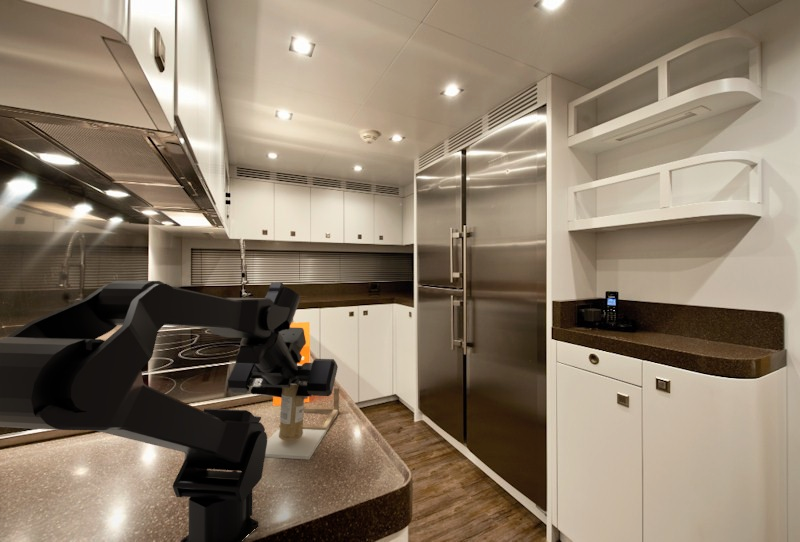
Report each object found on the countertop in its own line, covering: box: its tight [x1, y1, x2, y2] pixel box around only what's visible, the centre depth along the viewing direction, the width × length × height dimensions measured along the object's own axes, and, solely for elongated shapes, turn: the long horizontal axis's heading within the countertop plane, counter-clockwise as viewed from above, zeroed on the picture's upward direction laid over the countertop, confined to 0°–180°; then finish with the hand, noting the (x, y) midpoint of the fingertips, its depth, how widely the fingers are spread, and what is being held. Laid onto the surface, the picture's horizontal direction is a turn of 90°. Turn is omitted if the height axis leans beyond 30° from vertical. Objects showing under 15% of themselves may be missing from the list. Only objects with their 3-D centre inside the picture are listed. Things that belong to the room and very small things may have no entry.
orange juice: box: [272, 321, 311, 407], centre depth 86 cm, size 8×9×20 cm
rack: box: [278, 386, 340, 431], centre depth 73 cm, size 10×10×6 cm
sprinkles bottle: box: [279, 364, 305, 441], centre depth 63 cm, size 5×5×14 cm
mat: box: [265, 428, 328, 460], centre depth 63 cm, size 10×10×1 cm
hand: (296, 396), depth 65 cm, fingers closed on sprinkles bottle, 4 cm apart
